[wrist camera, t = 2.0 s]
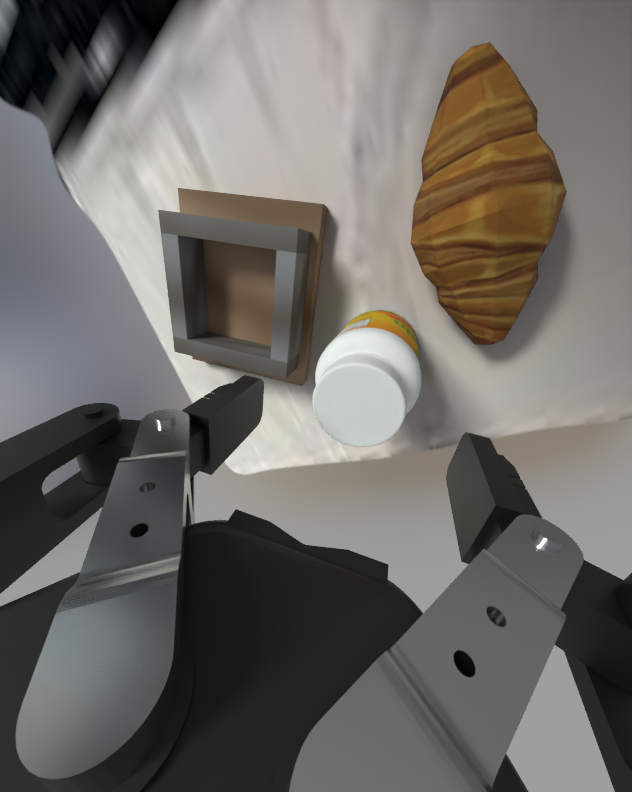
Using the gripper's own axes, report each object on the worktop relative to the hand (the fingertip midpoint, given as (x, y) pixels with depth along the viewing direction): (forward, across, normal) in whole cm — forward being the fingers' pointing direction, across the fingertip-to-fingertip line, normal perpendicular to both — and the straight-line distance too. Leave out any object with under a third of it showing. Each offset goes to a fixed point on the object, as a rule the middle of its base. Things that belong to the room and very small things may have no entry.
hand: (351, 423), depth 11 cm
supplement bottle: (+11, 0, 0) cm, 11 cm away
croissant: (+11, -4, -8) cm, 14 cm away
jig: (+10, +10, -2) cm, 15 cm away
